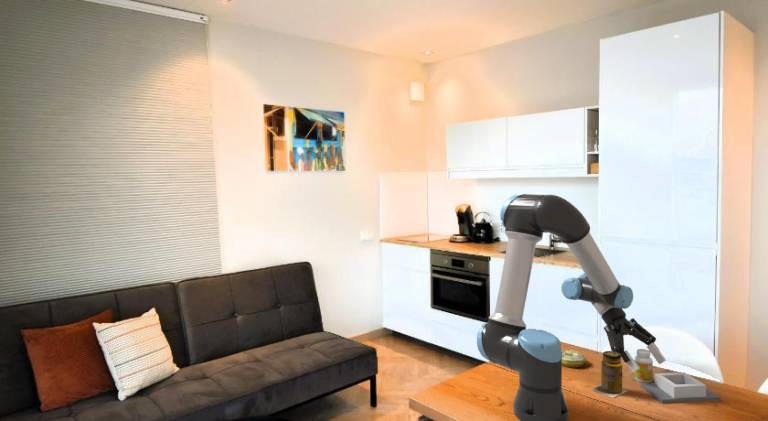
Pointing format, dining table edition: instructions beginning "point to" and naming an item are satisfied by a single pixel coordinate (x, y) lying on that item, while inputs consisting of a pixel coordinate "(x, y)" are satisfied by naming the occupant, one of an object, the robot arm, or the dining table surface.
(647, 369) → the supplement bottle
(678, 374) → the socket plate
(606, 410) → the dining table surface
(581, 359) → the decorated donut
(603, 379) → the condiment
